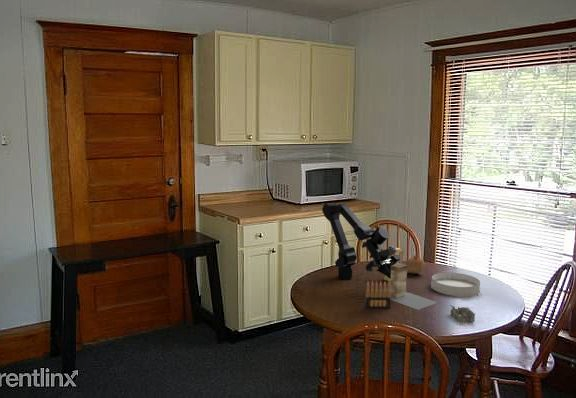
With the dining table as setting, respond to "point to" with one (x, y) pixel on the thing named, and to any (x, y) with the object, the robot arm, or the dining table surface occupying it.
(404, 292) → the birch block
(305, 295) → the dining table surface
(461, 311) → the dark green lumpy clump
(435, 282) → the dish
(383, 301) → the ammunition clip
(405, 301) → the rubber mat
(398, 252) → the candy box
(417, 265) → the onion
